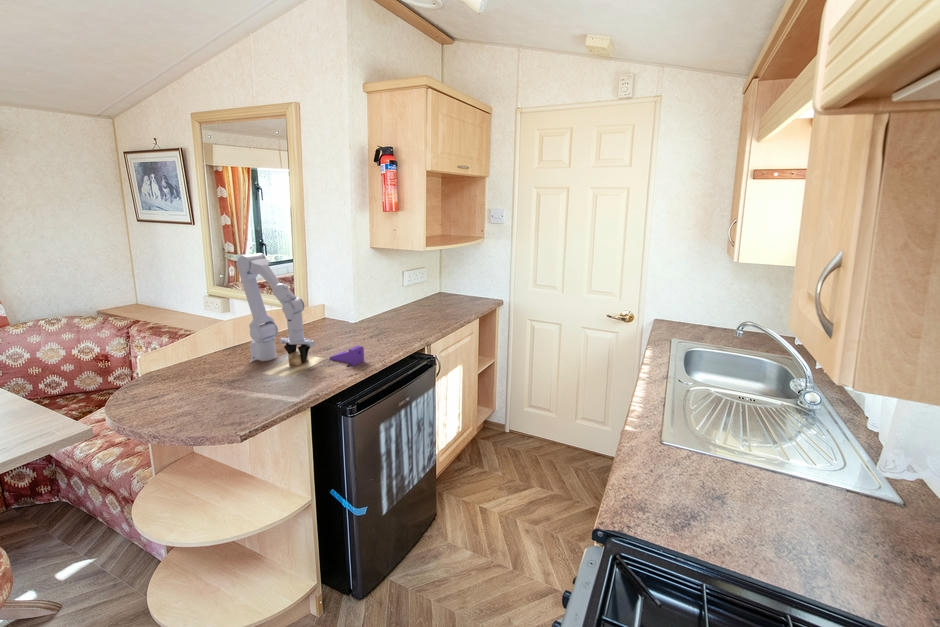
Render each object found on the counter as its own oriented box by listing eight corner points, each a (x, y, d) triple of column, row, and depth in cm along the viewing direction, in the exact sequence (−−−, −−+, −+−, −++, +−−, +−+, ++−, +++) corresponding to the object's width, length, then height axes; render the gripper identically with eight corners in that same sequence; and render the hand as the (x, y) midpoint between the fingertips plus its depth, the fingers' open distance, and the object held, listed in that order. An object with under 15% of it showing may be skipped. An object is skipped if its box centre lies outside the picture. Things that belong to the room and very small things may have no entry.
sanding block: (289, 365, 190) (288, 354, 189) (300, 359, 196) (299, 349, 195) (297, 366, 189) (296, 355, 187) (308, 360, 195) (307, 350, 194)
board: (261, 376, 182) (261, 373, 182) (297, 357, 202) (297, 355, 202) (293, 380, 178) (293, 377, 178) (326, 360, 199) (326, 357, 198)
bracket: (363, 361, 198) (363, 345, 196) (353, 366, 192) (352, 350, 190) (341, 355, 203) (340, 340, 201) (329, 360, 197) (329, 344, 195)
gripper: (273, 330, 187) (277, 363, 191) (305, 333, 183) (308, 366, 187) (285, 325, 194) (288, 357, 197) (316, 328, 190) (319, 360, 193)
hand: (299, 361), depth 192 cm, fingers closed on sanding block, 4 cm apart
